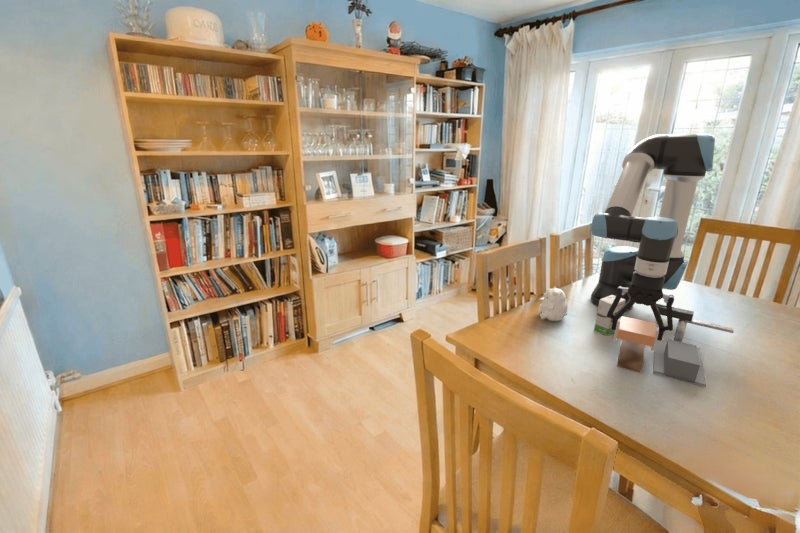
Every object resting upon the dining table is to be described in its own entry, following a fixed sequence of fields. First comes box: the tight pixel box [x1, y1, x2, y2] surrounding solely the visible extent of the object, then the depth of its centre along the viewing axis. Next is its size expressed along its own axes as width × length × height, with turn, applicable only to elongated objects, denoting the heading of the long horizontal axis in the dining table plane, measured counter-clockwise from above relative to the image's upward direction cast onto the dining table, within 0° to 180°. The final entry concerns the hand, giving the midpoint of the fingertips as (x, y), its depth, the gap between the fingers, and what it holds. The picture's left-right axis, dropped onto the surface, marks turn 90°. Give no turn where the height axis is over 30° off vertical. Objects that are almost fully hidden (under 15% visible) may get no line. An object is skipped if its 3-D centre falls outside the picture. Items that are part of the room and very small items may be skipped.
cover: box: [617, 315, 657, 348], centre depth 110 cm, size 9×10×3 cm
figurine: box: [538, 286, 569, 322], centre depth 138 cm, size 10×10×12 cm
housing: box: [652, 338, 708, 388], centre depth 112 cm, size 12×23×6 cm, turn 147°
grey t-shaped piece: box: [656, 303, 735, 342], centre depth 117 cm, size 3×20×11 cm, turn 52°
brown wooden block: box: [616, 339, 646, 374], centre depth 113 cm, size 6×12×4 cm, turn 147°
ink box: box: [593, 295, 626, 336], centre depth 129 cm, size 9×5×12 cm, turn 123°
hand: (633, 343), depth 112 cm, fingers closed on cover, 9 cm apart
